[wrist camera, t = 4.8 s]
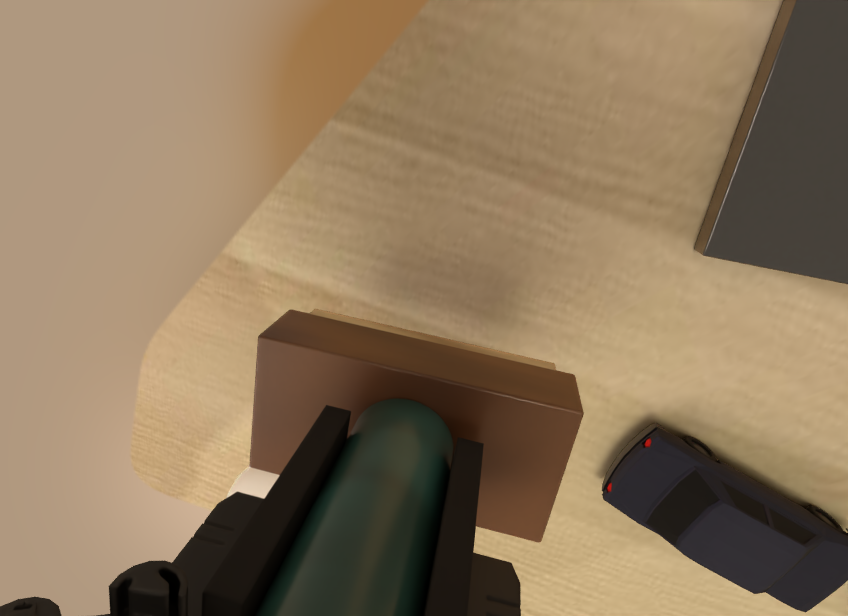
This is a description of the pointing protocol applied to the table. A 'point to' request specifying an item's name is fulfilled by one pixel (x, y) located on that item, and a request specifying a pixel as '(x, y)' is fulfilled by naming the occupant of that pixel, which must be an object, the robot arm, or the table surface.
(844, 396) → the table surface
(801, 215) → the slate board
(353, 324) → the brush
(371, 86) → the table surface
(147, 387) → the table surface
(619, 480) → the toy car
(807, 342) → the table surface
